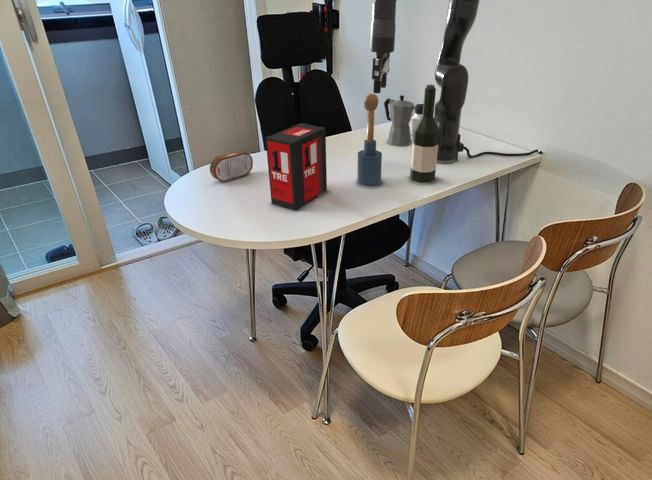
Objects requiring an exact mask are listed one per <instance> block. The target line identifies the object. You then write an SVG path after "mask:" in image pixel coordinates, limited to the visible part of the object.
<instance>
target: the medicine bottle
mask: <svg viewBox="0 0 652 480" xmlns="http://www.w3.org/2000/svg"><path fill="white" fill-rule="evenodd" d="M423 104H424V102H422V103H421V102H420V103H417V104H415V105H414V106H415V109H414V114H413V115H412V117H411V128H410V137H413V131H414V127H415V126H416V125H417V123H418V122H419V120H420V119H421V117H422V116H423Z"/></svg>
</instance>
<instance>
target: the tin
mask: <svg viewBox="0 0 652 480" xmlns="http://www.w3.org/2000/svg"><path fill="white" fill-rule="evenodd" d="M253 165H254V160H253V157H252V155H251V154H250V153H248V152H246V150H242V149H238V150H235V151H231V152H227V153H223V154H218V155H217V156H215V157H214V158H213V159H212V161H211V162H210V165H209V172H210V175H211V176H212V178H214V179H215V180H217V181H219V182H229V181H233V180H235V179H239V178H242V177H245V176H247V175H249V174H250V173H251V171H252V170H253Z"/></svg>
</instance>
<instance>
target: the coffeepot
mask: <svg viewBox="0 0 652 480" xmlns="http://www.w3.org/2000/svg"><path fill="white" fill-rule="evenodd" d="M399 99H400V100H395V99H391V98H389V97H388V98H386V100H385V101H384V102H383V106H384V111H385V116H386V120H387V121H388V122H391V125H390V129H389V133H388V137H387V143H388V144H389V145H392V146H395V147H406V146H409V145H410V144H411V143H412V138H411V137H412V136H411V126H410V122H411V121H412V117H413V111H415V106H416V105H415V103H413V102H411V101H408V100H405V95H403V94H401V95H400V96H399Z"/></svg>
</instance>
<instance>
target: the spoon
mask: <svg viewBox="0 0 652 480" xmlns="http://www.w3.org/2000/svg"><path fill="white" fill-rule="evenodd" d="M378 97H379V96H377V94H376V93H369V94H367V95H366V97H364V100H363V101H364V102H363V108H364V110H365V111H366V112H367V121H366V123H367V124H366V125H367V127H366V128H367V129H366V140H367V142H370V143H371V142H373V140H374V135H375V134H374V132H375V111H376V110H377V108H378V106H379V98H378Z"/></svg>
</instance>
